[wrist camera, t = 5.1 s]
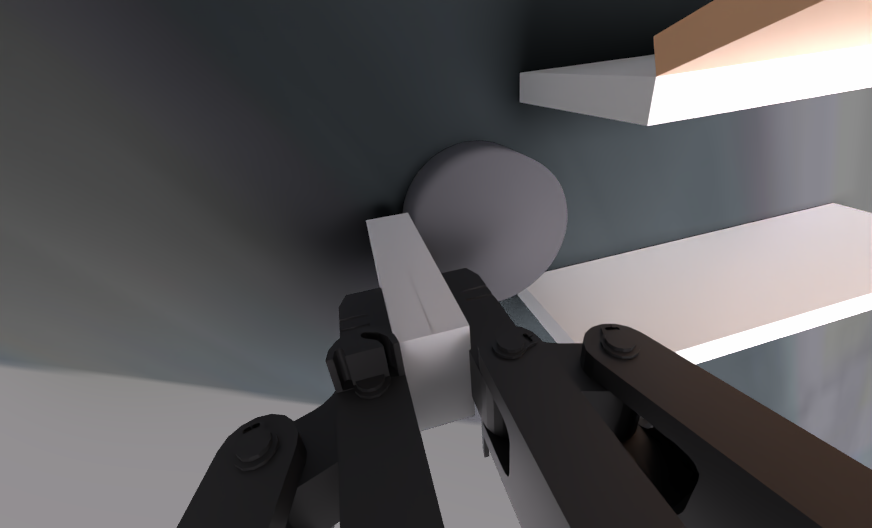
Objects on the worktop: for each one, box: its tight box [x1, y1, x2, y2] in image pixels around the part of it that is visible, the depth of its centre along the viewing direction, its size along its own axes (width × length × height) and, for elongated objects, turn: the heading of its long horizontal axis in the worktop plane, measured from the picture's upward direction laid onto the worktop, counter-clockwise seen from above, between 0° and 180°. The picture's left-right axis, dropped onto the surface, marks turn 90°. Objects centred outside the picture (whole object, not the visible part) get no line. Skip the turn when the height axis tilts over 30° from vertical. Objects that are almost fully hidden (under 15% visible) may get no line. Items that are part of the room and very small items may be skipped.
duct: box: [517, 45, 872, 364], centre depth 15 cm, size 10×20×6 cm, turn 97°
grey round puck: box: [403, 141, 567, 301], centre depth 14 cm, size 6×6×2 cm
